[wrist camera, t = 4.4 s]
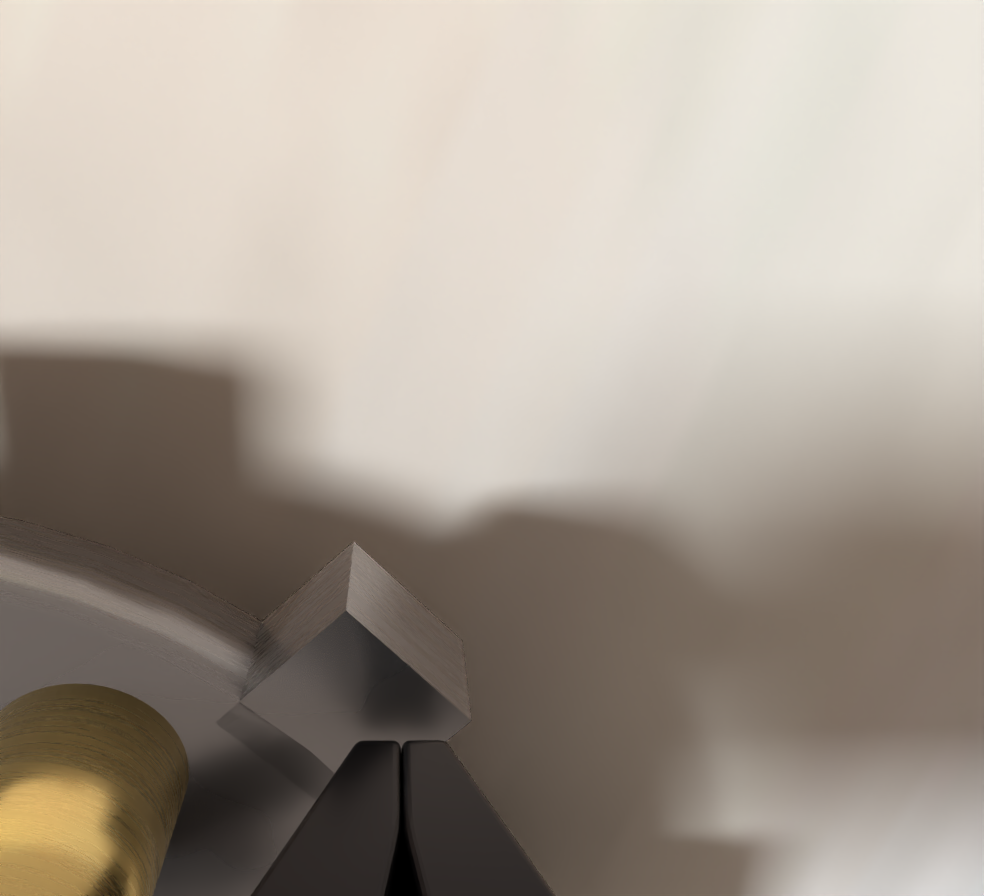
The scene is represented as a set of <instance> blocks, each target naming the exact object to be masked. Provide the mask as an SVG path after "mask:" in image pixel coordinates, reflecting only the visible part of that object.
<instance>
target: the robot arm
mask: <svg viewBox="0 0 984 896" xmlns="http://www.w3.org/2000/svg"><path fill="white" fill-rule="evenodd" d="M251 896H556V895H555V894H554V893H553V891H552V890H551V888H550V887H549V886H548V884H547V883H546V881H545V880H544V879H543V877H542V876H541V874H540V873H539V872H538V870H537V869H536V867H535V866H534V865H533V863H532V862H531V860H530V859H529V858H528V856H527V855H526V853H525V852H524V851H523V849H522V848H521V846H520V845H519V843H518V842H517V841H516V839H515V838H514V836H513V835H512V834H511V832H510V831H509V829H508V828H507V827H506V825H505V824H504V822H503V821H502V820H501V818H500V817H499V815H498V814H497V813H496V811H495V810H494V808H493V807H492V806H491V804H490V803H489V801H488V800H487V799H486V797H485V796H484V794H483V793H482V791H481V790H480V789H479V787H478V786H477V784H476V783H475V782H474V780H473V779H472V777H471V776H470V775H469V773H468V772H467V770H466V769H465V768H464V766H463V765H462V763H461V762H460V761H459V759H458V758H457V756H456V755H455V754H454V752H453V751H452V749H451V748H450V747H449V745H448V744H447V743H446V742H444V741H441V740H409V741H406V742H405V743H404V744H403V745H402V749H401V746H400V744H399V743H398V742H397V741H394V740H371V741H359V742H358V743H356V744H355V745H354V747H353V748H352V749H351V751H350V752H349V754H348V755H347V756H346V758H345V759H344V761H343V762H342V764H341V765H340V767H339V768H338V769H337V771H336V772H335V774H334V775H333V777H332V778H331V780H330V781H329V783H328V784H327V785H326V787H325V788H324V790H323V791H322V793H321V794H320V796H319V797H318V798H317V800H316V801H315V803H314V804H313V806H312V807H311V809H310V810H309V812H308V813H307V814H306V816H305V817H304V819H303V820H302V822H301V823H300V825H299V826H298V827H297V829H296V830H295V832H294V833H293V835H292V836H291V838H290V839H289V840H288V842H287V843H286V845H285V846H284V848H283V849H282V851H281V852H280V854H279V855H278V856H277V858H276V859H275V861H274V862H273V864H272V865H271V867H270V868H269V869H268V871H267V872H266V874H265V875H264V877H263V878H262V880H261V881H260V883H259V884H258V885H257V887H256V888H255V890H254V891H253V893H252V894H251Z"/></svg>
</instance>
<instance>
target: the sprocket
mask: <svg viewBox="0 0 984 896" xmlns="http://www.w3.org/2000/svg"><path fill="white" fill-rule="evenodd" d="M471 721H472V720H471V711H470V702H469V694H468V685H467V676H466V668H465V659H464V650H463V642H462V640H461V639H460V638H459V637H458V636H457V635H456V634H454V633H453V632H452V631H451V630H450V629H449V628H448V627H447V626H446V625H445V624H444V623H442V622H441V621H440V620H439V619H438V618H437V617H436V616H435V615H434V614H433V613H432V612H430V611H429V610H428V609H427V608H426V607H425V606H424V605H423V604H422V603H421V602H420V601H418V600H417V599H416V598H415V597H414V596H413V595H412V594H411V593H410V592H409V591H408V590H406V589H405V588H404V587H403V586H402V585H401V584H400V583H399V582H398V581H397V580H396V579H394V578H393V577H392V576H391V575H390V574H389V573H388V572H387V571H386V570H385V569H384V568H382V567H381V566H380V565H379V564H378V563H377V562H376V561H375V560H374V559H373V558H372V557H370V556H369V555H368V554H367V553H366V552H365V551H364V550H363V549H362V548H361V547H360V546H358V545H357V544H356V543H355V542H353V543H351V544H350V545H349V546H348V547H347V548H346V549H345V550H343V551H342V552H341V553H340V554H339V555H338V556H336V557H335V558H334V559H333V560H332V561H331V562H330V563H328V564H327V565H326V566H325V567H324V568H323V569H322V570H320V571H319V572H318V573H317V574H316V575H315V576H314V577H312V578H311V579H310V580H309V581H308V582H307V583H306V584H304V585H303V586H302V587H301V588H300V589H299V590H298V591H296V592H295V593H294V594H293V595H292V596H291V597H289V598H288V599H287V600H286V601H285V602H284V603H283V604H281V605H280V606H279V607H278V608H277V609H276V610H275V611H273V612H272V613H271V614H270V615H269V616H268V617H267V618H265V619H264V620H263V621H262V622H261V621H260V620H258V619H256V618H255V617H253V616H251V615H249V614H247V613H246V612H244V611H242V610H240V609H239V608H237V607H235V606H233V605H232V604H230V603H228V602H226V601H225V600H223V599H221V598H219V597H217V596H216V595H214V594H212V593H210V592H209V591H207V590H205V589H203V588H202V587H200V586H198V585H196V584H194V583H193V582H191V581H189V580H187V579H184V578H182V577H180V576H177V575H175V574H173V573H170V572H168V571H166V570H163V569H161V568H158V567H156V566H154V565H151V564H149V563H147V562H144V561H142V560H140V559H137V558H135V557H132V556H130V555H128V554H125V553H123V552H121V551H118V550H116V549H114V548H111V547H109V546H105V545H102V544H99V543H95V542H92V541H89V540H85V539H82V538H79V537H75V536H72V535H69V534H65V533H62V532H59V531H55V530H52V529H49V528H45V527H42V526H39V525H35V524H32V523H28V522H25V521H22V520H16V519H11V518H5V517H0V896H251V894H252V893H253V891H254V890H255V888H256V887H257V885H258V884H259V883H260V881H261V880H262V878H263V877H264V875H265V874H266V872H267V871H268V869H269V868H270V867H271V865H272V864H273V862H274V861H275V859H276V858H277V856H278V855H279V854H280V852H281V851H282V849H283V848H284V846H285V845H286V843H287V842H288V840H289V839H290V838H291V836H292V835H293V833H294V832H295V830H296V829H297V827H298V826H299V825H300V823H301V822H302V820H303V819H304V817H305V816H306V814H307V813H308V812H309V810H310V809H311V807H312V806H313V804H314V803H315V801H316V800H317V798H318V797H319V796H320V794H321V793H322V791H323V790H324V788H325V787H326V785H327V784H328V783H329V781H330V780H331V778H332V777H333V775H334V774H335V772H336V771H337V769H338V768H339V767H340V765H341V764H342V762H343V761H344V759H345V758H346V756H347V755H348V754H349V752H350V751H351V749H352V748H353V747H354V745H355V744H356V743H358V742H359V741H371V740H394V741H397V742H398V743H399V744H400V746H401V749H402V745H403V744H404V743H405V742H406V741H409V740H441V741H444V742H446V741H447V740H448V739H450V738H451V737H452V736H453V735H455V734H456V733H457V732H458V731H460V730H461V729H462V728H463V727H465V726H466V725H467V724H468V723H470V722H471Z"/></svg>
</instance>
